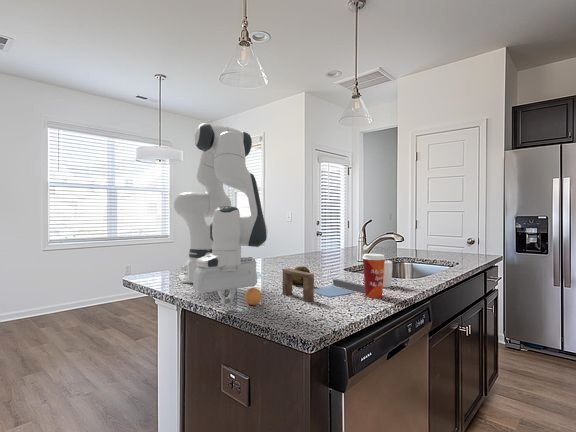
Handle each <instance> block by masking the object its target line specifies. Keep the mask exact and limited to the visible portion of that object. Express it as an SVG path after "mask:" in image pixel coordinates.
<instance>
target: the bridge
mask: <svg viewBox="0 0 576 432" xmlns="http://www.w3.org/2000/svg"><path fill="white" fill-rule="evenodd" d="M294 269H295V268H283V269H282V295H284V296H287V295H289V296H290V295H293V282H292V275H295V276H299V277H303V284H302V286H303V287H302V289H303V291H302V292H303V293H302V295H303V296H302V298H303V299H302V301H303V302H305V303H310V302H314V301H315V300H314V299H315V293H314V289H315V274H314V273H311V272H310V273H308V272H303V271H299V270H294Z"/></svg>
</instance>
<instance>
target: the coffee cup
mask: <svg viewBox="0 0 576 432" xmlns="http://www.w3.org/2000/svg"><path fill="white" fill-rule="evenodd" d="M362 261H363V263H362V265H363V281H364V282H363V283H364V284H363V285H365V293H364V296H365V297H367V298H370V299H380V298H381V299H382V297H383V292H384V290H383V289H384V287H383V278H384V262H385V261H386V257H385V255H384V253H382V254H381V253H364V254H363V256H362Z"/></svg>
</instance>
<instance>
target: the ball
mask: <svg viewBox="0 0 576 432" xmlns="http://www.w3.org/2000/svg"><path fill="white" fill-rule="evenodd" d="M262 295H263V294H262V292H261V291H260V289H259V288H256V287H251V288H248V289H247V290H246V292H245V293H244V301H245V302H246V303H247V304H248V305H251V306H256V305H258V304H259V303H260V302H261V301H262Z"/></svg>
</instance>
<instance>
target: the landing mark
mask: <svg viewBox="0 0 576 432" xmlns="http://www.w3.org/2000/svg"><path fill="white" fill-rule="evenodd" d="M356 292H357V291H354V290H350V289H346V288H342V287H338V286H334V285H331V286H326V287H325V286H323V287H319V288H318V287H317V288H314V294H317V295H321V296H324V297H328V298H335V297H339V296H345V295H350V294H355V293H356Z"/></svg>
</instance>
